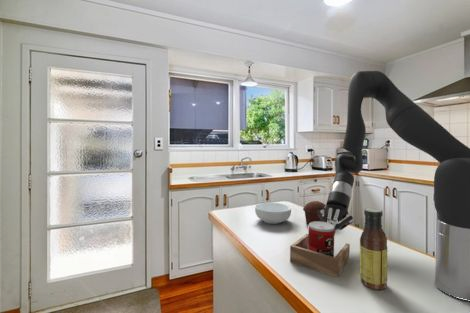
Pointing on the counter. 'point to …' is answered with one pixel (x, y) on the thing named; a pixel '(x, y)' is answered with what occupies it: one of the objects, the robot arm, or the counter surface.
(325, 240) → the canned food
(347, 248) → the wooden u-shaped frame
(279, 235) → the counter surface
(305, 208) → the muffin
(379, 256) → the sauce bottle
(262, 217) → the cereal bowl
